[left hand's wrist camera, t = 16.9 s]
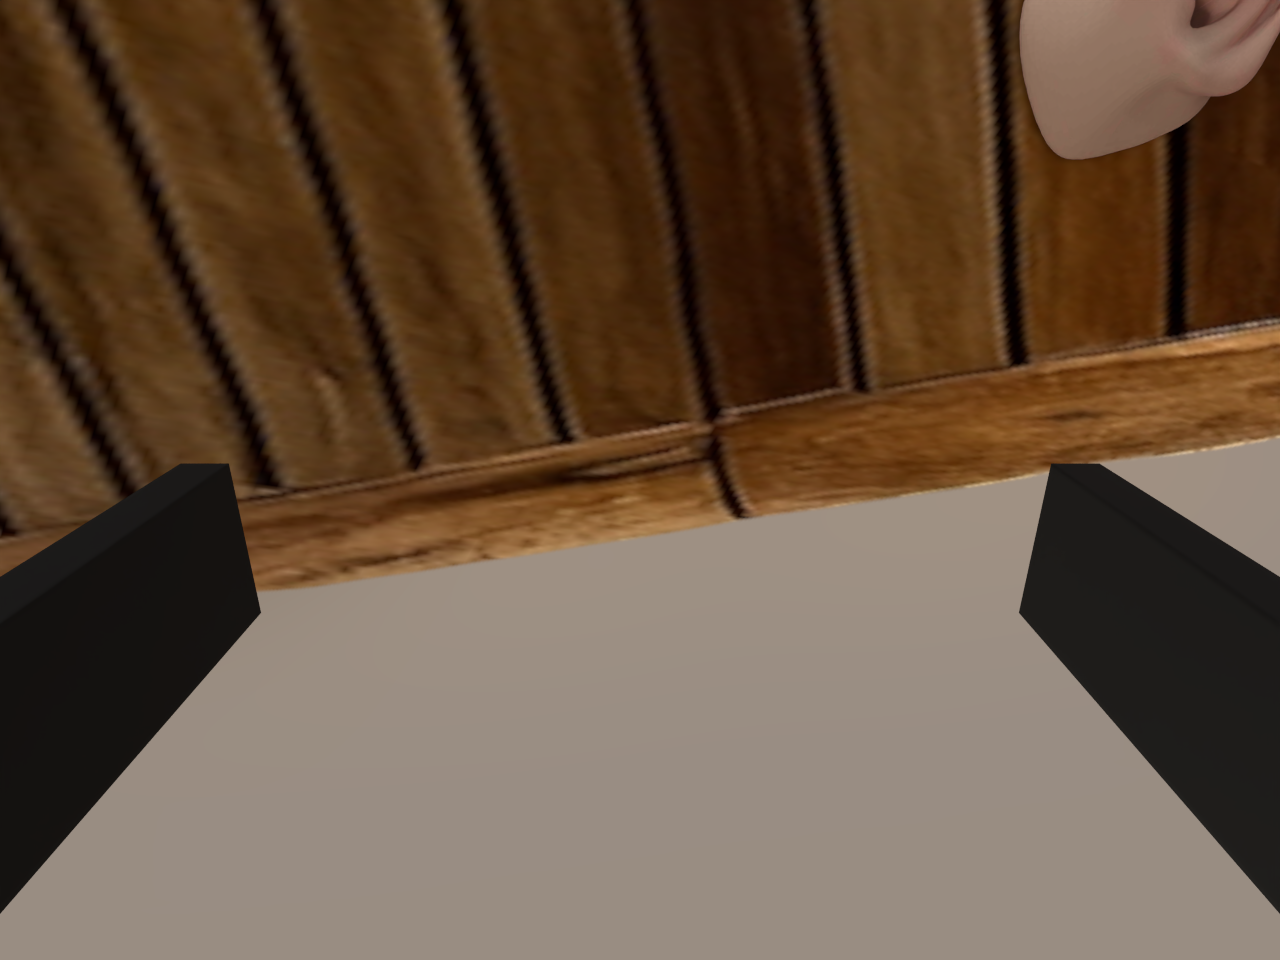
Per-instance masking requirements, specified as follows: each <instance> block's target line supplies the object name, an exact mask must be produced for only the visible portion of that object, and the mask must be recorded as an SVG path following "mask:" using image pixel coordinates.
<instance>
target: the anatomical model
mask: <svg viewBox="0 0 1280 960" xmlns="http://www.w3.org/2000/svg"><path fill="white" fill-rule="evenodd" d="M1279 32H1280V0H1024V3H1023V8H1022V14H1021V20H1020V57H1021V63H1022V70H1023V76H1024V81H1025V85H1026V89H1027V93H1028V97H1029V101H1030V104H1031V107H1032V110H1033V113H1034V116H1035V119H1036V122H1037V124H1038V126H1039V129H1040V131H1041V133H1042V135H1043V137H1044V139H1045V141H1046V143H1047V144H1048V145H1049V147H1050V148H1051V149H1052V150H1053V151H1054V152H1055V153H1056V154H1058V155H1059V156H1061V157H1063V158H1067V159H1086V158H1092V157H1098V156H1102V155H1106V154H1109V153H1113V152H1116V151H1120V150H1124V149H1127V148H1131V147H1134V146H1137V145H1140V144H1143V143H1145V142H1148V141H1150V140H1152V139H1154V138H1157V137H1159V136H1161V135H1163V134H1165V133H1168V132H1170V131H1172V130H1174V129H1176V128H1178V127H1180V126H1181V125H1183V124H1184V123H1186V122H1188V121H1189V120H1190V119H1191V118H1192V117H1194V116H1195V115H1196V114H1197V113H1198V112H1199V111H1200V110H1201V109H1202V107H1203V106H1204V105H1205V104H1206V102H1207V101H1208V100H1209V98H1210V97H1211V96H1224V95H1228V94H1231V93H1233V92H1235V91H1238V90H1239V89H1241V88H1242V87H1244V86H1245V85H1246V84H1248V83H1249V82H1250V80H1251V79H1252V78H1253V77H1254V76H1255V74H1256V73H1257V71H1258V70H1259V68H1260V67H1261V65H1262V64H1263V62H1264V60H1265V58H1266V56H1267V54H1268V52H1269V51H1270V49H1271V47H1272V45H1273V43H1274V41H1275V40H1276V38H1277V36H1278V34H1279Z"/></svg>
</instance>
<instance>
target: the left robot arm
mask: <svg viewBox="0 0 1280 960" xmlns="http://www.w3.org/2000/svg"><path fill="white" fill-rule="evenodd" d="M260 613H261V611H260V606H259V601H258V597H257V592H256V587H255V583H254V578H253V574H252V569H251V564H250V560H249V555H248V550H247V546H246V541H245V537H244V532H243V527H242V523H241V518H240V514H239V509H238V504H237V500H236V495H235V490H234V486H233V481H232V477H231V472H230V467H229V464H179V465H178V466H176V467H175V468H173V469H171V470H170V471H168V472H167V473H165V474H163V475H162V476H160V477H159V478H157V479H156V480H154V481H152V482H151V483H149V484H148V485H146V486H144V487H143V488H141V489H140V490H138V491H136V492H135V493H133V494H132V495H130V496H128V497H127V498H125V499H124V500H122V501H120V502H119V503H117V504H116V505H114V506H113V507H111V508H109V509H108V510H106V511H105V512H103V513H101V514H100V515H98V516H97V517H95V518H93V519H92V520H90V521H89V522H87V523H85V524H84V525H82V526H81V527H79V528H77V529H76V530H74V531H73V532H71V533H70V534H68V535H66V536H65V537H63V538H62V539H60V540H58V541H57V542H55V543H54V544H52V545H50V546H49V547H47V548H46V549H44V550H42V551H41V552H39V553H38V554H36V555H34V556H33V557H31V558H30V559H28V560H27V561H25V562H23V563H22V564H20V565H19V566H17V567H15V568H14V569H12V570H11V571H9V572H7V573H6V574H4V575H3V576H1V577H0V913H1V912H2V911H3V910H4V909H5V907H6V906H7V905H8V904H9V903H10V902H11V901H12V899H13V898H14V897H15V896H16V895H17V894H18V892H19V891H20V890H21V889H22V888H23V887H24V886H25V884H26V883H27V882H28V881H29V880H30V879H31V877H32V876H33V875H34V874H35V873H36V872H37V871H38V869H39V868H40V867H41V866H42V865H43V864H44V862H45V861H46V860H47V859H48V858H49V857H50V855H51V854H52V853H53V852H54V851H55V850H56V849H57V847H58V846H59V845H60V844H61V843H62V842H63V841H64V839H65V838H66V837H67V836H68V835H69V834H70V832H71V831H72V830H73V829H74V828H75V827H76V826H77V824H78V823H79V822H80V821H81V820H82V819H83V817H84V816H85V815H86V814H87V813H88V812H89V811H90V809H91V808H92V807H93V806H94V805H95V804H96V802H97V801H98V800H99V799H100V798H101V797H102V796H103V794H104V793H105V792H106V791H107V790H108V789H109V787H110V786H111V785H112V784H113V783H114V782H115V781H116V779H117V778H118V777H119V776H120V775H121V774H122V772H123V771H124V770H125V769H126V768H127V767H128V766H129V764H130V763H131V762H132V761H133V760H134V759H135V757H136V756H137V755H138V754H139V753H140V752H141V751H142V749H143V748H144V747H145V746H146V745H147V744H148V742H149V741H150V740H151V739H152V738H153V737H154V735H155V734H156V733H157V732H158V731H159V730H160V729H161V727H162V726H163V725H164V724H165V723H166V722H167V721H168V719H169V718H170V717H171V716H172V715H173V714H174V712H175V711H176V710H177V709H178V708H179V707H180V705H181V704H182V703H183V702H184V701H185V700H186V699H187V697H188V696H189V695H190V694H191V693H192V692H193V690H194V689H195V688H196V687H197V686H198V685H199V684H200V682H201V681H202V680H203V679H204V678H205V677H206V676H207V674H208V673H209V672H210V671H211V670H212V669H213V667H214V666H215V665H216V664H217V663H218V662H219V661H220V659H221V658H222V657H223V656H224V655H225V654H226V652H227V651H228V650H229V649H230V648H231V647H232V646H233V644H234V643H235V642H236V641H237V640H238V639H239V637H240V636H241V635H242V634H243V633H244V632H245V631H246V629H247V628H248V627H249V626H250V625H251V624H252V622H253V621H254V620H255V619H256V618H257V617H258V615H259V614H260ZM1019 613H1020V614H1021V616H1022V617H1023V618H1024V619H1025V620H1026V621H1027V622H1028V624H1029V625H1030V626H1031V627H1032V628H1033V629H1034V631H1035V632H1036V633H1037V634H1038V635H1039V636H1040V637H1041V639H1042V640H1043V641H1044V642H1045V643H1046V644H1047V646H1048V647H1049V648H1050V649H1051V650H1052V651H1053V652H1054V654H1055V655H1056V656H1057V657H1058V658H1059V659H1060V661H1061V662H1062V663H1063V664H1064V665H1065V666H1066V667H1067V669H1068V670H1069V671H1070V672H1071V673H1072V674H1073V676H1074V677H1075V678H1076V679H1077V680H1078V681H1079V682H1080V684H1081V685H1082V686H1083V687H1084V688H1085V689H1086V691H1087V692H1088V693H1089V694H1090V695H1091V696H1092V697H1093V699H1094V700H1095V701H1096V702H1097V703H1098V704H1099V706H1100V707H1101V708H1102V709H1103V710H1104V711H1105V712H1106V714H1107V715H1108V716H1109V717H1110V718H1111V719H1112V720H1113V722H1114V723H1115V724H1116V725H1117V726H1118V727H1119V729H1120V730H1121V731H1122V732H1123V733H1124V734H1125V735H1126V737H1127V738H1128V739H1129V740H1130V741H1131V742H1132V744H1133V745H1134V746H1135V747H1136V748H1137V749H1138V751H1139V752H1140V753H1141V754H1142V755H1143V756H1144V757H1145V759H1146V760H1147V761H1148V762H1149V763H1150V764H1151V766H1152V767H1153V768H1154V769H1155V770H1156V771H1157V772H1158V774H1159V775H1160V776H1161V777H1162V778H1163V779H1164V781H1165V782H1166V783H1167V784H1168V785H1169V786H1170V787H1171V789H1172V790H1173V791H1174V792H1175V793H1176V794H1177V796H1178V797H1179V798H1180V799H1181V800H1182V801H1183V802H1184V804H1185V805H1186V806H1187V807H1188V808H1189V809H1190V811H1191V812H1192V813H1193V814H1194V815H1195V816H1196V817H1197V819H1198V820H1199V821H1200V822H1201V823H1202V824H1203V826H1204V827H1205V828H1206V829H1207V830H1208V831H1209V832H1210V834H1211V835H1212V836H1213V837H1214V838H1215V839H1216V841H1217V842H1218V843H1219V844H1220V845H1221V846H1222V847H1223V849H1224V850H1225V851H1226V852H1227V853H1228V854H1229V856H1230V857H1231V858H1232V859H1233V860H1234V861H1235V862H1236V864H1237V865H1238V866H1239V867H1240V868H1241V869H1242V871H1243V872H1244V873H1245V874H1246V875H1247V876H1248V877H1249V879H1250V880H1251V881H1252V882H1253V883H1254V884H1255V886H1256V887H1257V888H1258V889H1259V890H1260V891H1261V892H1262V894H1263V895H1264V896H1265V897H1266V898H1267V899H1268V901H1269V902H1270V903H1271V904H1272V905H1273V906H1274V907H1275V909H1276V910H1277V911H1278V912H1279V913H1280V577H1279V576H1277V575H1276V574H1274V573H1273V572H1271V571H1269V570H1268V569H1266V568H1265V567H1263V566H1261V565H1260V564H1258V563H1257V562H1255V561H1253V560H1252V559H1250V558H1249V557H1247V556H1246V555H1244V554H1242V553H1241V552H1239V551H1238V550H1236V549H1234V548H1233V547H1231V546H1230V545H1228V544H1226V543H1225V542H1223V541H1222V540H1220V539H1218V538H1217V537H1215V536H1214V535H1212V534H1210V533H1209V532H1207V531H1206V530H1204V529H1202V528H1201V527H1199V526H1198V525H1196V524H1195V523H1193V522H1191V521H1190V520H1188V519H1187V518H1185V517H1183V516H1182V515H1180V514H1179V513H1177V512H1175V511H1174V510H1172V509H1171V508H1169V507H1167V506H1166V505H1164V504H1163V503H1161V502H1160V501H1158V500H1156V499H1155V498H1153V497H1151V496H1150V495H1148V494H1147V493H1145V492H1144V491H1142V490H1140V489H1139V488H1137V487H1136V486H1134V485H1132V484H1131V483H1129V482H1128V481H1126V480H1124V479H1123V478H1121V477H1120V476H1118V475H1116V474H1115V473H1113V472H1112V471H1110V470H1109V469H1107V468H1105V467H1104V466H1102V465H1101V464H1051V467H1050V472H1049V477H1048V481H1047V486H1046V490H1045V495H1044V500H1043V504H1042V509H1041V514H1040V518H1039V523H1038V527H1037V532H1036V537H1035V541H1034V546H1033V551H1032V555H1031V560H1030V564H1029V569H1028V574H1027V578H1026V583H1025V587H1024V592H1023V597H1022V601H1021V606H1020V611H1019Z"/></svg>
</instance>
